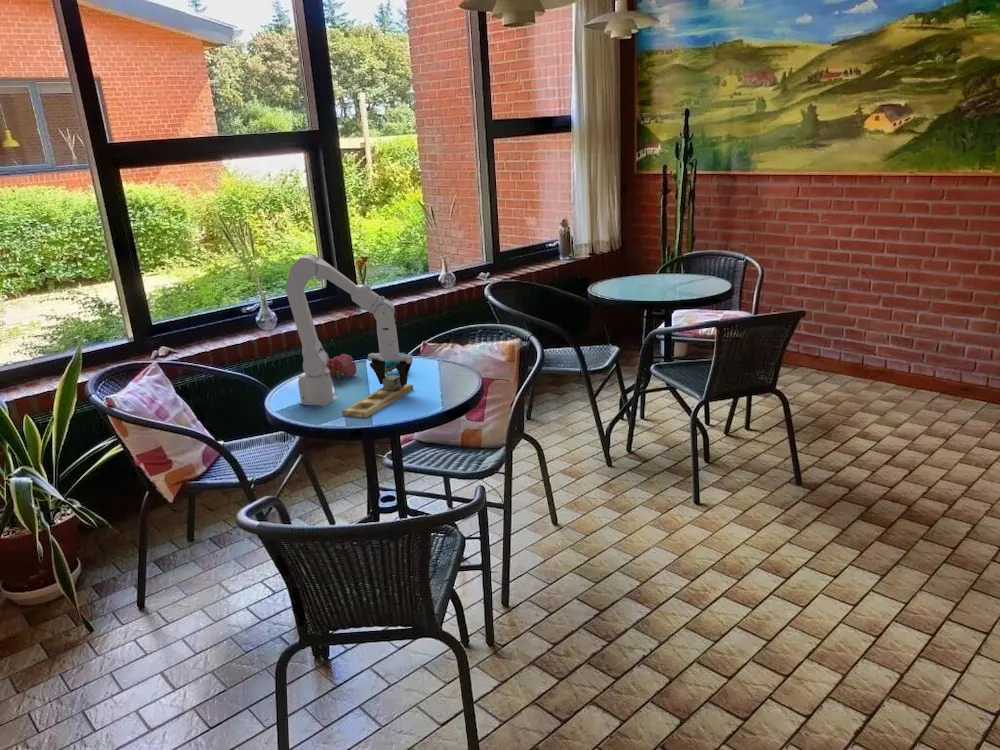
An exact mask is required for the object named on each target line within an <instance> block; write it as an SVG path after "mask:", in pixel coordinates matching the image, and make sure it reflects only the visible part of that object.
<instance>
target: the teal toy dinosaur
mask: <svg viewBox="0 0 1000 750" xmlns="http://www.w3.org/2000/svg"><path fill="white" fill-rule="evenodd" d="M400 353H401V354H406V355H408V354H407V353H405V352H404V351H402V352H400ZM399 363H400V362H391V361H385V376H386V377H387V376H389V375H390V374H389V372H390V371H391V372H393V370H395V369H396V370H397V367H396V365H397V364H399Z"/></svg>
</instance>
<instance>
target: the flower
mask: <svg viewBox="0 0 1000 750" xmlns="http://www.w3.org/2000/svg"><path fill="white" fill-rule="evenodd" d="M326 366H327V368H328V369H329V370H330V377H331V378H332V377H333V376H335V378H338V379H340V378H341V377H342V375H344V376H346V377H347V378H352V377H351V376H353V377H355V376H356V375H357V364H356V362H355V361H353V357H352V356H351V355H349V354H346V353H342V354H340V355H339V356H338V355H336V356H334V357H333V358H329V360H328V363H327V365H326ZM339 382H340V383H342V381H341V380H339Z"/></svg>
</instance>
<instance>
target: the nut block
mask: <svg viewBox="0 0 1000 750" xmlns="http://www.w3.org/2000/svg"><path fill="white" fill-rule="evenodd" d="M382 385H383V386H382V387H384V391H394V392H396V391H398V390H400V389H401V388H402V386H401V383H400V376H399V375H392V374H389V376H387V375H386V376H385V378H383V384H382Z"/></svg>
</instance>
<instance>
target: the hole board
mask: <svg viewBox="0 0 1000 750" xmlns="http://www.w3.org/2000/svg"><path fill="white" fill-rule="evenodd" d="M411 391H414V385H413V384H409V383H407V384H406V385H404V386H402V388H401V389H400V390H398V391H396V392H394V391H384V387H383V386H382V387H381V388H379V389H377V390H376V391H374V392H372V393H370V394H369V395H367V396H364V397H363V398H362V399H360V400H358V401H356V402H354V403H353V404H351V405H349V406H347V407H345V408H344V409H342V410H341V411H342V416H344V417H345V416H346V417H355V418H368V417H370V416H372V415H374V414H375V413H377V412H378V411H380V410H382V409H383V408H385V407H386V406H388V405H390V404H392V403H394V402H395V401H397V400H399V399H400V398H402V397H403V396H405V395H407V394H408V393H410V392H411Z"/></svg>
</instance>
